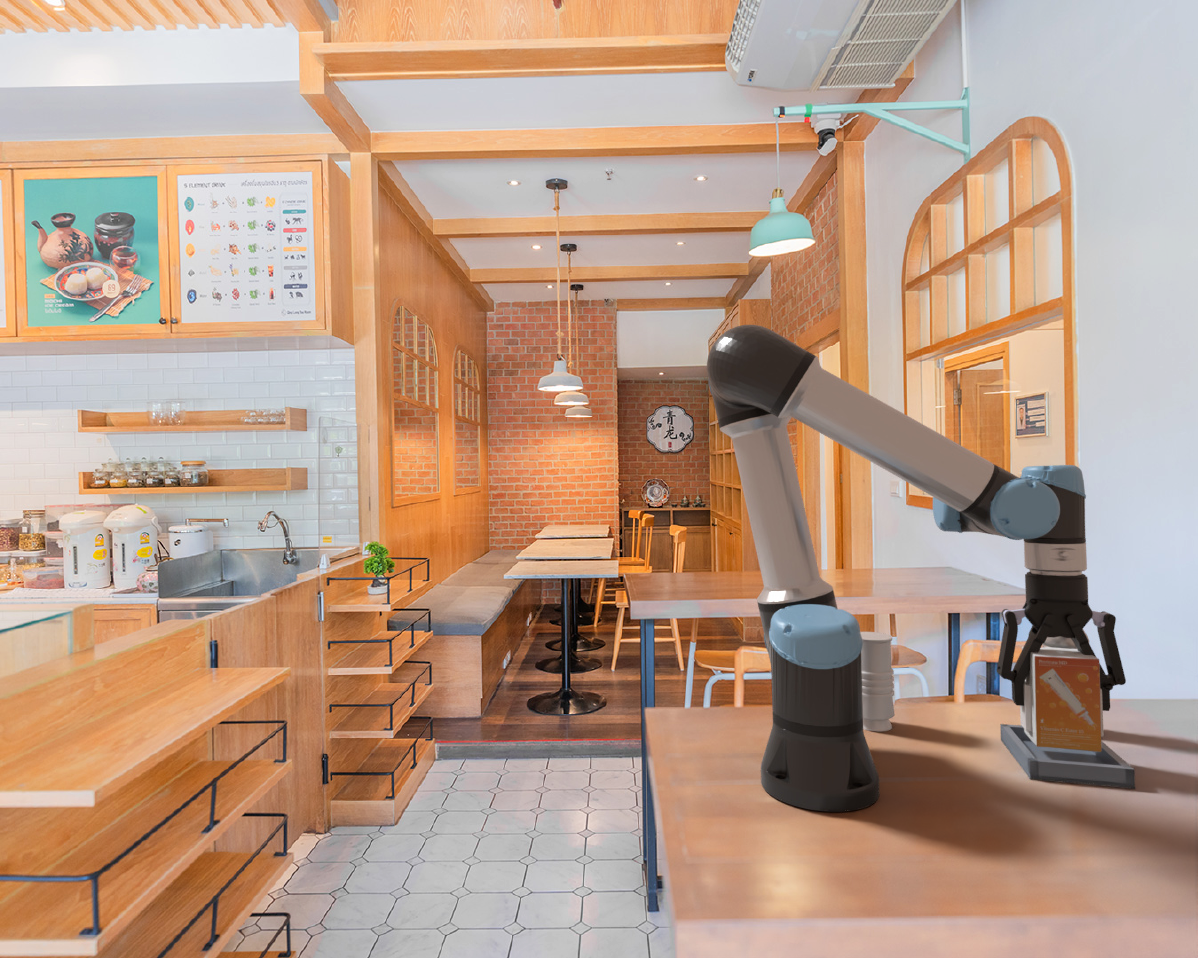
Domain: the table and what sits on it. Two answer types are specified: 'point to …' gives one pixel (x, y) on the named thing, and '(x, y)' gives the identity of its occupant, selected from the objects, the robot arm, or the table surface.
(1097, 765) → the tray
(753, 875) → the table surface
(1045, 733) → the small box
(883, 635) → the white bottle
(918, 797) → the table surface
